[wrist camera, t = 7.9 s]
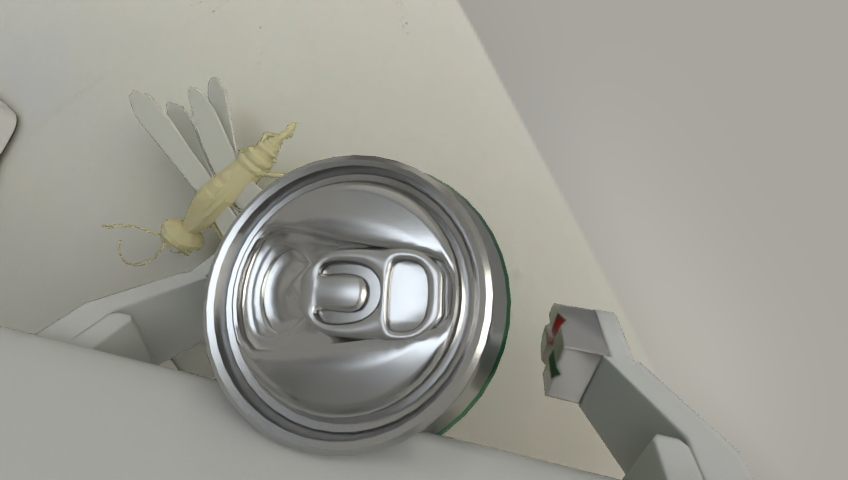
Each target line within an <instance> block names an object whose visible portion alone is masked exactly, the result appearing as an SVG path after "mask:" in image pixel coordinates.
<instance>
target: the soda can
mask: <svg viewBox="0 0 848 480" xmlns="http://www.w3.org/2000/svg"><path fill="white" fill-rule="evenodd" d="M510 307H511V298H510V288H509V278H508V274H507V270H506V266H505V262H504V259H503V255H502V253H501V250H500V248H499V246H498V244H497V241H496V239H495V237H494V235H493V233H492V231H491V230H490V228H489V227H488V225H487V224H486V222H485V221H484V219H483V218H482V216H481V215H480V214H479V213H478V212H477V210H476V209H475V208H474V207H473V206H472V205H471V204H470V203H469V202H468V201H467V199H465V198H464V197H463V196H462V195H460V194H459V193H458V192H457V191H455V190H454V189H453V188H452V187H450V186H449V185H447V184H445V183H443V182H442V181H440V180H438V179H436V178H435V177H433V176H430V175H428V174H425V173H422V172H421V171H419V170H417V169H415V168H413V167H411V166H408V165H405V164H403V163H400V162H398V161H395V160H390V159H385V158H380V157H376V156H360V155H352V156H341V157H333V158H328V159H324V160H320V161H316V162H313V163H310V164H307V165H305V166H302V167H300V168H297V169H295V170H293V171H291V172H289V173H288V174H286V175H284V176H282V177H280V178H279V179H277V180H275V181H274V182H273V183H271V184H270V185H269V186H267V187H266V188H265V189H263V190H262V191H261V192H259V193H258V194H257V195H256V196H255V197H254V198H253V199H252V200H251V201H250V202H249V203H248V204H247V205H246V206H245V207H244V208H243V210H242V211H241V212H240V213H239V215H238V216H237V217H236V219H235V220H234V221H233V222H232V224H231V225H230V227H229V229H228V230H227V232H226V234H225V235H224V237H223V239H222V241H221V242H220V244H219V246H218V249H217V251H216V254H215V256H214V258H213V261H212V263H211V266H210V270H209V274H208V278H207V281H206V285H205V292H204V301H203V334H204V339H205V344H206V350H207V355H208V358H209V361H210V364H211V367H212V369H213V372H214V375H215V377H216V379H217V381H218V383H219V385H220V387H221V388H222V390H223V392H224V394H225V396H226V397H227V399H228V400H229V401H230V402H231V404H232V405H233V406H234V407H235V409H236V410H237V411H238V412H239V414H240V415H241V416H242V417H243V418H244V419H245V420H247V421H248V422H249V423H250V424H251V425H252V426H253V427H255V428H256V429H257V430H258V431H259V432H261V433H263V434H264V435H266V436H268V437H269V438H271V439H272V440H274V441H276V442H277V443H279V444H282V445H284V446H287V447H290V448H292V449H295V450H298V451H300V452H304V453H310V454H316V455H321V456H356V455H362V454H367V453H372V452H378V451H381V450H384V449H386V448H389V447H392V446H394V445H397V444H399V443H402V442H404V441H406V440H408V439H409V438H411V437H413V436H414V435H416V434H418V433H424V432H428V433H433V434H437V435H442V434H443V433H445V432H446V431H447V430H449V429H450V428H451V427H452V426H453V425H454V424H456V423H457V422H458V421H459V420H460V419H462V418H463V417H464V416H465V415H466V414H467V413H468V411H469V410H470V409H471V408H472V407H473V405H474V404H475V403H476V402H477V401H478V399H479V398H480V397H481V396H482V394H483V393H484V391H485V389H486V388H487V386H488V384H489V382H490V381H491V379H492V377H493V376H494V374H495V372H496V369H497V367H498V364H499V362H500V359H501V357H502V354H503V351H504V348H505V344H506V339H507V334H508V330H509V325H510Z"/></svg>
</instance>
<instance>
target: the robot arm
mask: <svg viewBox="0 0 848 480" xmlns="http://www.w3.org/2000/svg"><path fill="white" fill-rule="evenodd" d="M16 123H17V118H16V115H15V113H14V112H13V111H12V110H11V109H10V108H9V107H8V106H7V105H6V104H5V103H4V102H3V101H2V100H1V99H0V154H1V153H2V151H3V150H4V148H5V146H6V145H7V143H8V141H9V139H10V137H11V136H12V134H13V132H14V129H15V127H16ZM215 254H216V253H215ZM215 254H214V255H212V256H211V257H210V258H208V259H207V260H205V261H204V262H203V263H201V264H200V265H199V266H197V267H196V268H195V269H193V270H192V271H191V272H189V273H185V272H183V273H180V274H176V275H173V276H170V277H167V278H164V279H160V280H157V281H154V282H151V283H148V284H144V285H141V286H138V287H135V288H132V289H128V290H125V291H122V292H119V293H116V294H112V295H109V296H106V297H103V298H100V299H96V300H93V301H90V302H87V303H84V304H82V305H81V306H79V307H78V308H76V309H75V310H73V311H71V312H70V313H68V314H67V315H65V316H64V317H62V318H60V319H59V320H57V321H56V322H54V323H53V324H51V325H49V326H48V327H46V328H45V329H43V330H41V331H40V332H38V333H37V334H35V335H34V334H30V333H26V332H22V331H18V330H14V329H10V328H6V327H2V326H0V480H619V479H615V478H611V477H607V476H603V475H599V474H595V473H590V472H586V471H582V470H578V469H574V468H570V467H566V466H562V465H558V464H554V463H550V462H546V461H542V460H538V459H534V458H530V457H526V456H522V455H518V454H514V453H510V452H506V451H502V450H498V449H494V448H490V447H486V446H482V445H478V444H474V443H470V442H465V441H461V440H457V439H453V438H449V437H445V436H441V435H437V434H433V433H428V432H424V433H418V434H416V435H414V436H413V437H411V438H409V439H408V440H406V441H404V442H402V443H399V444H397V445H394V446H392V447H389V448H386V449H384V450H381V451H378V452H372V453H367V454H362V455H356V456H321V455H316V454H310V453H304V452H300V451H298V450H295V449H292V448H290V447H287V446H284V445H282V444H279V443H277V442H276V441H274V440H272V439H271V438H269V437H268V436H266V435H264V434H263V433H261V432H259V431H258V430H257V429H256V428H255V427H253V426H252V425H251V424H250V423H249V422H248V421H247V420H245V419H244V418H243V417H242V416H241V415H240V414H239V412H238V411H237V410H236V409H235V407H234V406H233V405H232V404H231V402H230V401H229V400H228V399H227V397H226V396H225V394H224V392H223V390H222V388H221V387H220V385H219V383H218V381H217V380H215V379H211V378H207V377H203V376H199V375H195V374H191V373H187V372H183V371H179V370H175V369H171V368H167V367H163V366H159V365H160V364H162V363H164V362H165V361H167V360H169V359H171V358H173V357H174V356H176V355H178V354H180V353H182V352H183V351H185V350H187V349H189V348H191V347H192V346H194V345H196V344H198V343H199V342H201V341H203V340H205V339H204V334H203V301H204V292H205V285H206V281H207V278H208V274H209V270H210V266H211V263H212V261H213V258H214V256H215ZM549 317H550V323H549V324H548V325H546V326H545V328H544V331H543V335H542V341H541V360H542V361H543V363H544V364H545V365H546V366H545V369H544V371H543V382H544V391H545V396H549V397H553V398H557V399H561V400H565V401H569V402H573V403H577V404H579V406H580V408H581V409H582V411H583V412H584V414H585V415H586V417H587V418H588V420H589V421H590V423H591V424H592V426H593V427H594V428H595V430H596V431H597V433H598V434H599V436H600V437H601V439H602V440H603V442H604V443H605V445H606V446H607V448H608V449H609V451H610V452H611V453H612V455H613V456H614V458H615V459H616V461H617V462H618V464H619V465H620V467H621V468H622V470H623V471H624V473H625V474H626V475H625V476H624V478H623V479H622V480H754V478H753V476H752V474H751V472H750V471H749V469H748V467H747V465H746V463H745V461H744V460H743V458H742V456H741V454H740V452H739V451H738V450H737V449H736V448H735V447H734V446H733V445H731V444H730V443H729V442H728V441H727V440H726V439H725V438H724V437H723V436H721V435H720V434H719V433H718V432H717V431H716V430H715V429H714V428H712V427H711V426H710V425H709V424H708V423H707V422H706V421H705V420H704V419H702V418H701V417H700V416H699V415H698V414H697V413H696V412H695V411H693V410H692V409H691V408H690V407H689V406H688V405H687V404H686V403H684V401H682V400H681V399H680V398H679V397H678V396H677V395H676V394H675V393H674V392H672V391H671V390H670V389H669V388H668V387H667V386H666V385H665V384H663V383H662V382H661V381H660V380H659V379H658V378H657V377H656V376H655V375H653V374H652V373H651V372H650V371H649V370H648V369H647V368H646V367H645V366H643V365H642V364H641V363H639V362H634V360H633V357H632V355H631V352H630V349H629V347H628V344H627V342H626V339H625V336H624V334H623V331H622V329H621V326H620V323H619V321H618V318H617V316H616V315H615V314H614V313H612V312H606V311H599V310H590V309H584V308H578V307H573V306H567V305H561V304H556V303H554V304H553V306H552V308H551V310H550V313H549Z"/></svg>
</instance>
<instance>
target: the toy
mask: <svg viewBox="0 0 848 480" xmlns="http://www.w3.org/2000/svg"><path fill="white" fill-rule="evenodd" d="M129 99H130V102H131V106H132V108H133V110H134V112H135V115H136V117H137V118H138V120H139V121H140V122H141V124H142V125H143V126H144V128H145V129H146V130H147V131H148V133H149V134H150V135H151V136H152V138H153V139H154V140H155V141H156V142H157V144H158V145H159V146H160V147H161V149H162V150H163V151H164V152H165V154H166V155H167V156H168V157H169V158H170V160H171V161H172V162H173V163H174V165H175V166H176V167H177V168H178V170H179V171H180V172H181V173H182V175H183V176H184V177H185V178H186V179H187V181H188V182H189V183H190V184H191V186H192V187H193V188H194V189H195V191H196V192H197V193H196V194H195V196H194V198H193V200H192V202H191V204H190V205H189V207H188V209H187V212H186V215H185V218H184V220H179V219H169V220H166V221H165V222H164V223H163V224H162V226H161V231H160V233H161V234H155V233H153V232H151V231H149V230H146V229H143V228H140V227H136V226H132V225H129V224H115V225H127V226H114V227H136V228H139V229H142V230H144V231H147V232H150V233H153V234H155V235H157V236H160V238H161V240H162V242H163V244H164V245H163V246H162V247H161V249H160V250H159V251H158V252H157V254H156V255H155V256H154V257H153V258H152V259H149V260H147V261H148V262H147V261H143V262H140V263H144V262H146V263H145V264H147V263H149V262H150V261H152V260H153V259H154V258H155V257H156V256H157V255H158V254H159V253H160V252H161V250H162V248H163V247H165V246H167V248H168V250H169V251H170V252H171V253H183V254H184V255H186V256H189V255H188V253H192V252H193V251H196V250H199V249H200V248H201V247H202V246H203V244H204V238H203V236H202V234H201V233H200V232H201V231H204V230H206V229H208V228H210V227H213V228H214V230H215V231H216V233H217V234H218V236H219V237H220V239H221V240H222V239H223V237H224V235H225V234H226V232H227V230H228V229H229V227H230V225H231V224H232V222H233V221H234V220H235V219H236V217H237V216H238V215H239V212H238V210H237V209H236V207H237V206H238V207H239V208H240V209H241V210H243V208H244V207H245V206H246V205H247V204H248V203H249V202H250V201H251V200H252V199H253V198H254V197H255V196H256V195H257V194H258V193H259V192H261V191H262V189H261V188H260V187H259V186H257V185H256V183H257V182H258V180H259V179H260V178H261V177H263V176H264V177H275V178H280V177H282V176H284V175H286V174H279V173H267V172H268V170H269V169H271V168H272V166H273V165H272V162H273V163H277V162H278V160H277V159H275V158H277V155H278V154H277V153H278V152H279V149H280V148H281V144H282V141H283V140H284V139H287V138H288V137H289V138H291V137H292V136H293V133H292V132H293V131H294V130H295V128H296V126H297V124H298V123H297V122H293V123H292V124H291V125H288V126H287V127H286V129H285V130H283V131H282V132H280V133H279V134H274V133H268V132H266V133H264V134H263V135H262V137H261V140H260V141H259V142H258V143H257V145H256V146H255V147H252V146H249V147H248V148H245V149H241V150H238V149H237V144H236V139H235V134H234V129H233V124H232V119H231V114H230V109H229V104H228V99H227V94H226V91H225V89H224V87H223V85H222V83H221V82H220V80H219V79H218V78H217V77H213V78H211V79H210V81H209V83H208V99H209V101H208V99H207V98H206V96H205V95H204V93H202V92H201V91H200V90H198V89H197V88H195V87H192V86H191V87H190V88H189V100H190V104H191V108H192V112H193V116H194V120H195V124H196V128H197V132H198V135H199V137H198V135H197V132H196V130H195V127H194V125H193V124H192V122H191V120H190V118H189V116H188V115H187V113H186V111H185V109H184V107H183V106H180V105H178V104H175V103H173V102H168V103H167V114H166V113H165V112H164V110H163V109H162V108H161V107H160V106H159V105H158V103H157V102H156V101H155V100H154V99H153V98H152V97H151V96H149V95H147V94H146V93H142V92H138V91H134V90H133V91H132V93H131V94H130V95H129ZM267 137H270V138H268V139H266V138H267ZM199 138H200V140H201V142H200V140H199ZM201 143H202V145H203V147H202V145H201ZM203 148H204V150H205V152H204V150H203ZM238 151H239V153H238ZM205 153H206V155H207V157H208V160H209V162H210V165H211V167H212V169H213V171H214V173H215V176H214V175H213V172H212V170H211V167H210V165H209V162H208V160H207V157H206V155H205ZM102 226H103V227H105V228H108V229H112V228H114V227H113V225H109V226H106V225H102ZM120 243H121V240H120V241H119V244H118V251H119V255H120V256H121V255H122V254H121V252H120V249H119V248H120ZM121 258H122V257H121ZM122 260H123V262H125V263H126V264H129V263H127V262H126V261H125V260H124V259H123V258H122ZM140 263H137V264H140ZM137 264H129V265H133V266H135V265H137ZM145 264H141V265H138V266H142V265H145Z"/></svg>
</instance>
